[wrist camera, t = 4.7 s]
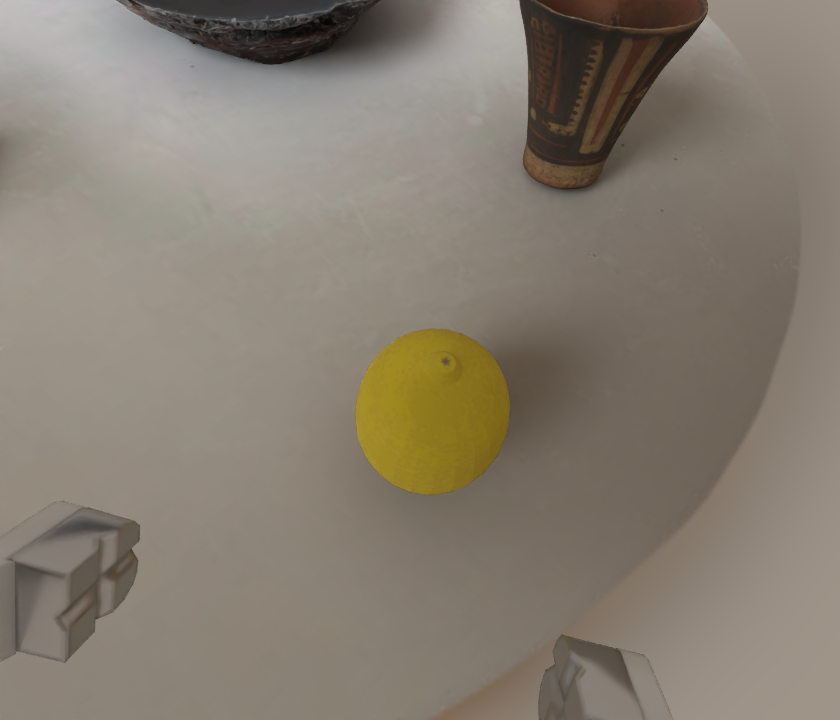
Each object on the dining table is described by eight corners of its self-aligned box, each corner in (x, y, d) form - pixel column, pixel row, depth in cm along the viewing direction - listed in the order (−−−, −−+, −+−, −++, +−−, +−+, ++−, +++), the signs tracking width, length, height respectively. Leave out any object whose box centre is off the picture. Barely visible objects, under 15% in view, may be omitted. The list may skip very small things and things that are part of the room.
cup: (550, 97, 35) (609, -82, 26) (648, 172, 32) (751, -4, 23) (454, 141, 32) (484, -46, 23) (552, 228, 29) (629, 50, 20)
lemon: (480, 523, 20) (536, 465, 13) (347, 503, 20) (331, 434, 13) (488, 401, 23) (538, 300, 16) (371, 384, 23) (368, 274, 16)
